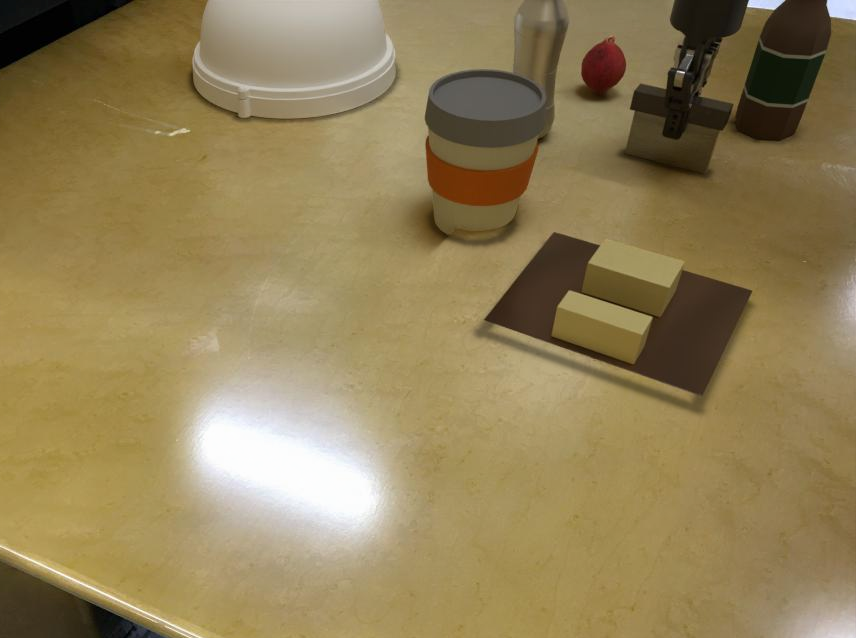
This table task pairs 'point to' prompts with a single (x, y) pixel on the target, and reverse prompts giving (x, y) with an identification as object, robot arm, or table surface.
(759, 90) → the beer bottle
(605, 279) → the butter block
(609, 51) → the pomegranate
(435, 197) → the reusable coffee cup
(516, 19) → the plastic bottle
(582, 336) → the butter slice
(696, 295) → the cutting board
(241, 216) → the table surface
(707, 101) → the bench scraper
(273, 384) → the table surface
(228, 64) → the dome cover
